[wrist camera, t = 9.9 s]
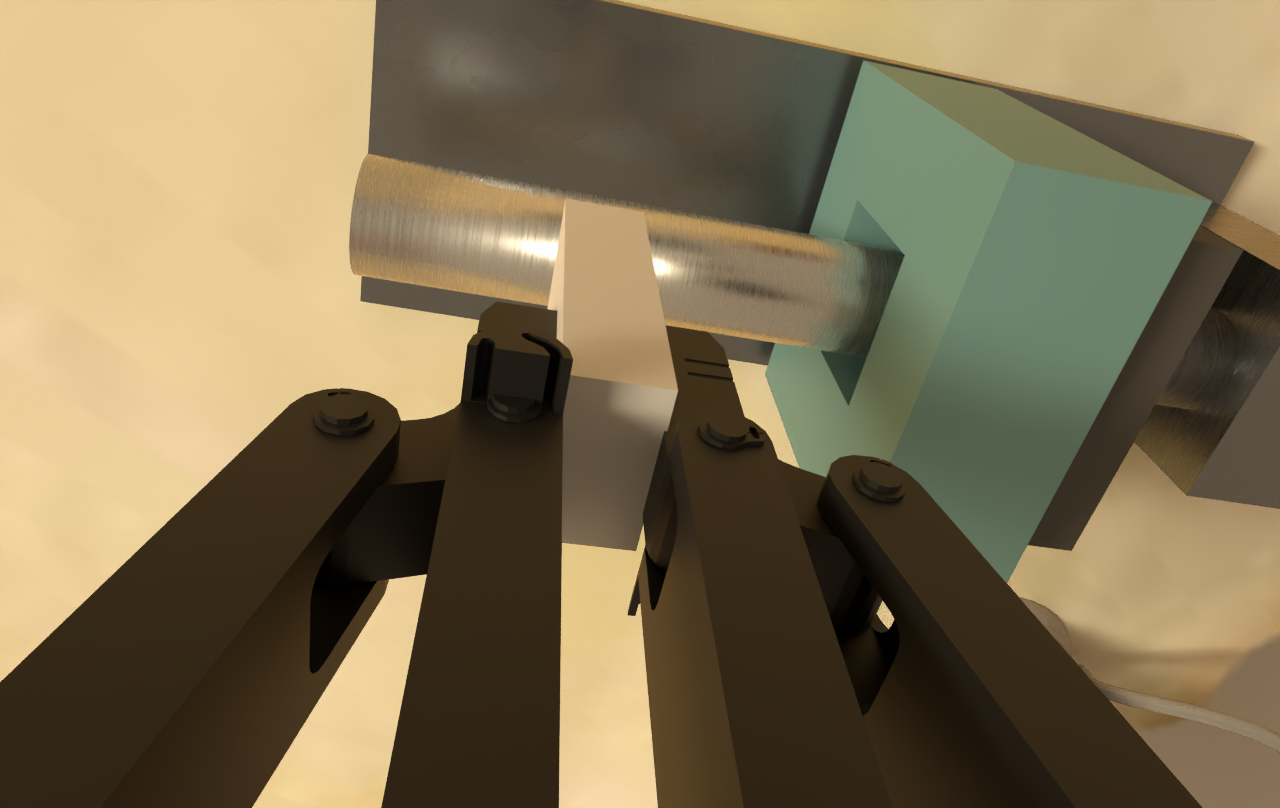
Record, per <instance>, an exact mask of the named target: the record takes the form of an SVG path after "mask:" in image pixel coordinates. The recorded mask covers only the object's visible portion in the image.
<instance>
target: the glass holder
mask: <svg viewBox="0 0 1280 808" xmlns="http://www.w3.org/2000/svg"><path fill="white" fill-rule="evenodd" d="M1020 599H1021V600H1022V601H1023V603H1024V604H1025V605H1026V606H1027V607H1028V608H1029V609H1030V611H1031V612H1032V613H1033V614H1034V615H1035V616H1036V617H1037V619H1038V620H1039V621H1040V622H1041V623H1042V624H1043V625H1044V627H1045V628H1046V629H1047V630H1048V631H1049V632H1050V633H1051V635H1052V636H1053V637H1054V638H1055V639H1056V640H1057V642H1058V643H1059V644H1060V645H1061V646H1062V647H1063V648H1064V650H1065V651H1066V652H1067V653H1068V654H1069V655H1070V656H1071V646H1070V640H1069V636H1068V634H1067V632H1066V629H1065V627H1064V625H1063V624H1062V622H1061V621H1060V620H1059V619H1058V617H1057V616H1056V615H1055V614H1053V613H1052V612H1051V611H1050V610H1048V609H1047V608H1046V607H1044V606H1042V605H1039V604H1037V603H1035V602H1033V601H1030V600H1026V599H1023V598H1020ZM1079 667H1080V668H1081V669H1082V670H1083V671H1084V672H1085V674H1086V675H1087V676H1088V677H1089V678H1090V679H1091V681H1092V682H1093V683H1094V684H1095V685H1096V686H1097V687H1098V689H1099V690H1100V691H1101V692H1102V693H1103V694H1104V695H1105V697H1106V698H1107V699H1108V700H1111V701H1115V702H1118V703H1121V704H1125V705H1128V706H1132V707H1136V708H1140V709H1144V710H1149V711H1153V712H1157V713H1162V714H1166V715H1171V716H1176V717H1180V718H1185V719H1189V720H1192V721H1196V722H1200V723H1204V724H1207V725H1210V726H1214V727H1217V728H1221V729H1224V730H1227V731H1230V732H1233V733H1236V734H1239V735H1242V736H1245V737H1248V738H1251V739H1253V740H1256V741H1258V742H1260V743H1262V744H1264V745H1266V746H1268V747H1270V748H1272V749H1274V750H1276V751H1278V752H1280V734H1278V733H1276V732H1274V731H1272V730H1270V729H1268V728H1266V727H1264V726H1262V725H1260V724H1258V723H1255V722H1252V721H1249V720H1246V719H1242V718H1239V717H1236V716H1233V715H1229V714H1225V713H1222V712H1218V711H1214V710H1210V709H1206V708H1202V707H1198V706H1195V705H1191V704H1187V703H1184V702H1179V701H1174V700H1170V699H1165V698H1160V697H1156V696H1151V695H1147V694H1143V693H1138V692H1134V691H1129V690H1126V689H1122V688H1118V687H1115V686H1111V685H1108V684H1105V683H1102V682H1099V681H1097V680H1096V679H1094V678H1093V677H1092V676H1091V675H1090V673H1089V672H1088V670H1087V669H1086V668H1085V667H1084V665H1079Z"/></svg>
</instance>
